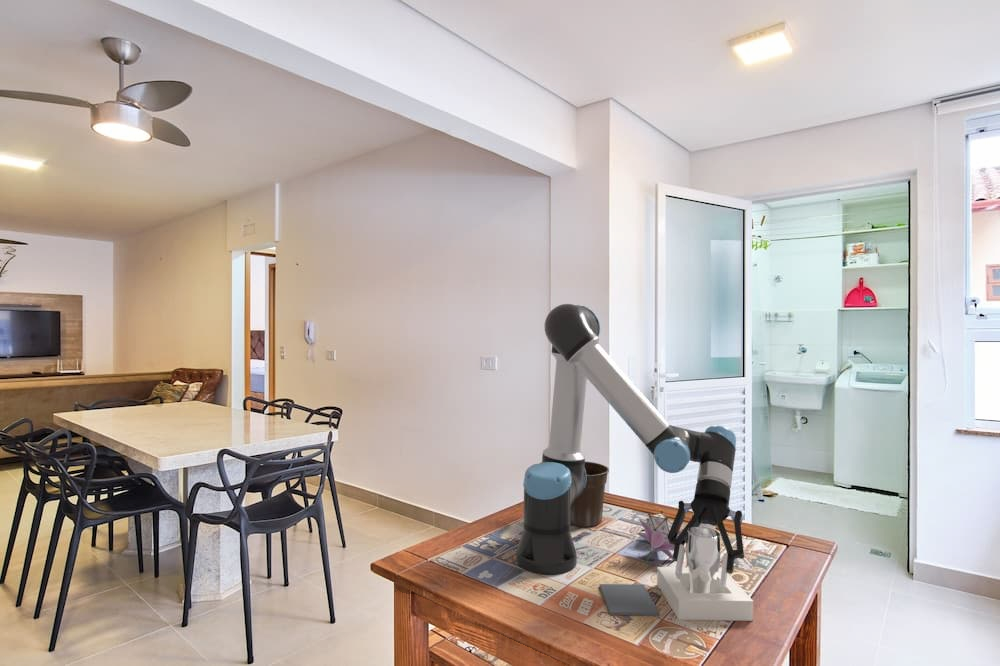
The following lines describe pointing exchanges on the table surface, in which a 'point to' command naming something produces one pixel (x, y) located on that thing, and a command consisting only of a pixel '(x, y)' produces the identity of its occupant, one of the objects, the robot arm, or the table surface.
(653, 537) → the lily
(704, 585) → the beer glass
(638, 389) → the robot arm
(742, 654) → the table surface
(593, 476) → the plant pot
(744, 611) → the board
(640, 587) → the slate coaster
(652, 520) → the game die
